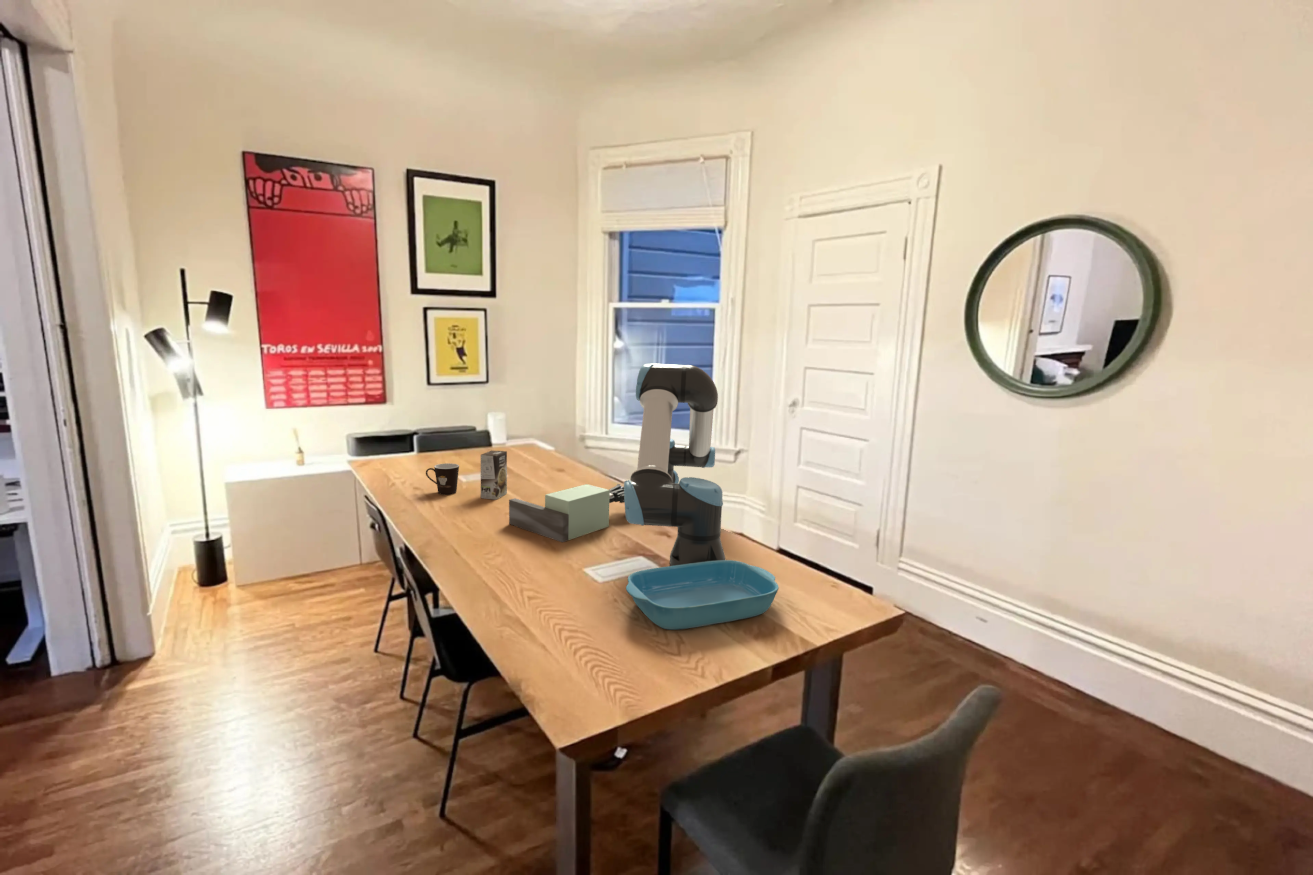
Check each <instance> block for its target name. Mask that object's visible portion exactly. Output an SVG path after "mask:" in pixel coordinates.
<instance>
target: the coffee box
mask: <svg viewBox="0 0 1313 875" xmlns="http://www.w3.org/2000/svg"><path fill="white" fill-rule="evenodd" d="M507 494H508V451H507V450H505V451H504V450H492V449H491V450H489V451H487V452H483V453H481V454H480V499H487V500H493V501H494V500H498V499H500V498H502V497H504V496H505V495H507Z"/></svg>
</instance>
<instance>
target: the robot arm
mask: <svg viewBox="0 0 1313 875" xmlns="http://www.w3.org/2000/svg"><path fill="white" fill-rule="evenodd" d="M637 374H638V375H637V378H636V385H635V398H636V400H637V401H639V404H640V406H641V408H642V409H643V412H642V413H643V415H642V424H641V431H640V441H639V447H638V448H639V450H638V457H637V467H636V470H634V471H633V472H632V473H631V476H630V480H629V479H628V480H625V481H624V482H623V486H622V485H621V483H620V484H619V483H617V484H616V485H615V486H613V487H611V488H610V489H608V490H610V497H609V504H612V503H614V502H615V503H618V502H619V504H624V513H625V520H626V521H627V522H628V523H629V524H631V525H640V526H657V527H672V528H673V527H674V528H677V534H676V539H675V541H674V544H673V546H672V549H671V551H670V555H669V564H670V566H675V565H682V564H690V563H698V562H706V561H717V560H726V554H725V552H724V548H723V544H722V540H721V533H722V532H721V531H722V530H721V529H722V510H723V509H722V508H723V505H724V501H723V490H722V488H721V486H720V485H719V484H718V483H715V482H714V481H711V480H708V479H704V478H700V477H693V476H689V477H688V476H687V477H681V478H680V477H679V475H678V473H677V471H676V470H674V467H687V468H688V467H690V468H703V469H705V468H714V466H715V463H716V462H715V461H716V448H715V446H711V444H712V434H713V433H712V431H713V422H714V420H713V419H714V410H715V409H716V407H717V406H718V399H719V395H718V394H719V393H718V389H717V386H716V384H715V382H714V380H713V379H712V377H711V376H710V375H709V374H708V373H707V372H706V371H705V370H703V369H702V368H700V367H699V366H696V365H691V364H669V363H657V362H654V363H644V364H643V365H642V366H641V367H640V368H639V371H638V373H637ZM679 403H680V404H683V403H684V404H687V406H688V407H689V432H688V435H689V437H688V445H683V444H680V445H679V444H676V442H675V439H673V438H671V435H672V434H671V433H672V419H673V418H672V417H673V412H674V411H675V410H677V408H678V405H679Z"/></svg>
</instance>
